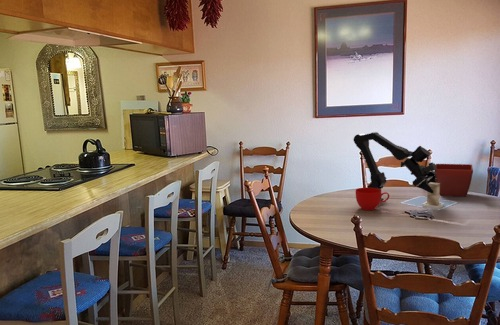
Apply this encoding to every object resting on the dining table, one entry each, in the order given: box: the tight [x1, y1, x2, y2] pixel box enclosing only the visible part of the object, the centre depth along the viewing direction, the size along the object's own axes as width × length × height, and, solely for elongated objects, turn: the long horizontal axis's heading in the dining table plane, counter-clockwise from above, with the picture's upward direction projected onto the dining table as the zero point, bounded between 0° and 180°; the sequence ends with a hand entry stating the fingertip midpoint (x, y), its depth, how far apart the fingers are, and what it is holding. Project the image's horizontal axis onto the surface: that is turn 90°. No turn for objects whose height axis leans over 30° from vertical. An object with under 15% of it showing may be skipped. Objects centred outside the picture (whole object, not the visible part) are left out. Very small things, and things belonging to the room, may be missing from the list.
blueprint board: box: [399, 195, 460, 212], centre depth 208 cm, size 22×22×1 cm
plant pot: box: [434, 163, 474, 198], centre depth 224 cm, size 19×19×17 cm
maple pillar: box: [426, 182, 440, 206], centre depth 200 cm, size 4×4×12 cm
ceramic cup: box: [355, 187, 390, 211], centre depth 204 cm, size 13×17×10 cm
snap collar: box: [422, 202, 444, 209], centre depth 201 cm, size 8×8×2 cm
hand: (436, 191), depth 199 cm, fingers open, 9 cm apart
